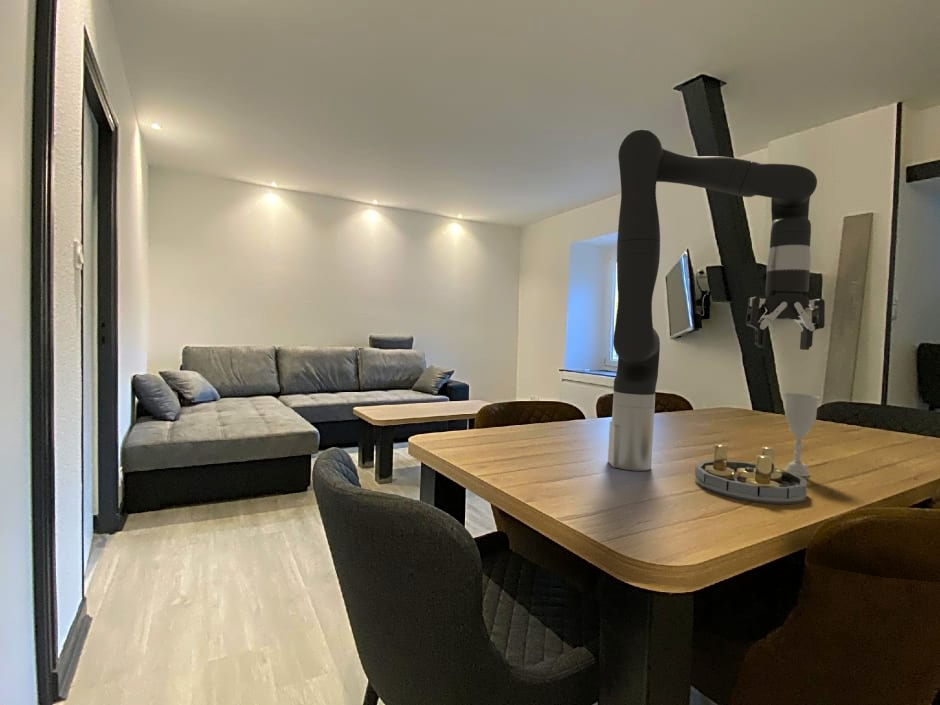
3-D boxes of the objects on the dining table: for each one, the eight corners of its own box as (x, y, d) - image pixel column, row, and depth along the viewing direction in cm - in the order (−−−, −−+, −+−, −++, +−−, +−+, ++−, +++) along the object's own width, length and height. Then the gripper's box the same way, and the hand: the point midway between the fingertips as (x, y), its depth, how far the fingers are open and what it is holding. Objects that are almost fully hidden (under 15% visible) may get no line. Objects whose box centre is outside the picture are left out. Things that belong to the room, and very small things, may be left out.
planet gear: (753, 494, 96) (755, 459, 96) (740, 484, 102) (742, 452, 101) (784, 495, 96) (787, 461, 95) (769, 486, 101) (771, 454, 101)
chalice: (771, 468, 120) (776, 393, 119) (798, 468, 121) (804, 393, 120) (794, 477, 113) (799, 397, 112) (822, 478, 113) (828, 398, 112)
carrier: (717, 500, 95) (720, 459, 95) (681, 471, 115) (683, 437, 114) (829, 507, 93) (832, 465, 93) (773, 476, 113) (776, 441, 113)
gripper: (760, 266, 101) (754, 348, 102) (836, 268, 99) (830, 351, 100) (743, 271, 108) (738, 346, 109) (814, 272, 107) (809, 349, 108)
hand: (782, 348), depth 105 cm, fingers open, 8 cm apart
